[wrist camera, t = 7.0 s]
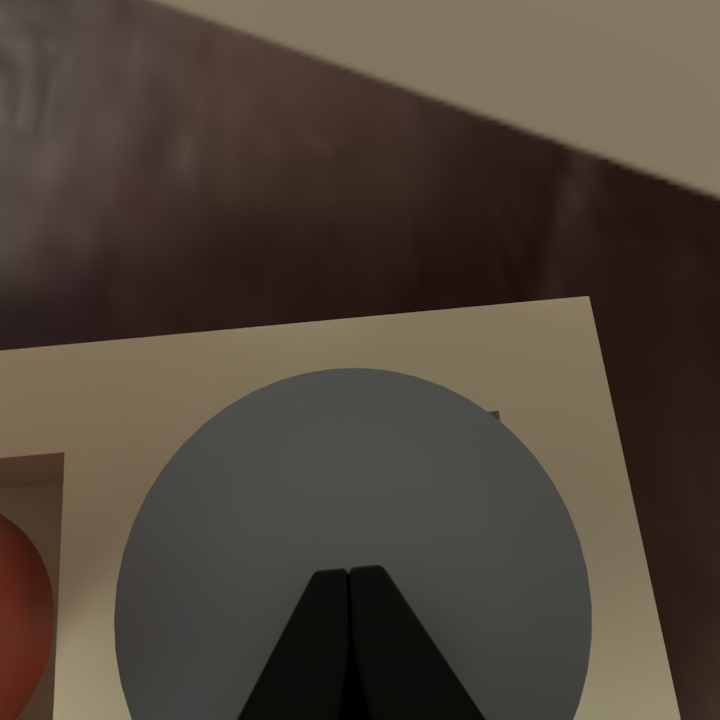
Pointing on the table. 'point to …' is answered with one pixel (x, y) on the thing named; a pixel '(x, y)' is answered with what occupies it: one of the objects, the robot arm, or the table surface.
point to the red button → (22, 619)
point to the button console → (284, 360)
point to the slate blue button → (352, 545)
